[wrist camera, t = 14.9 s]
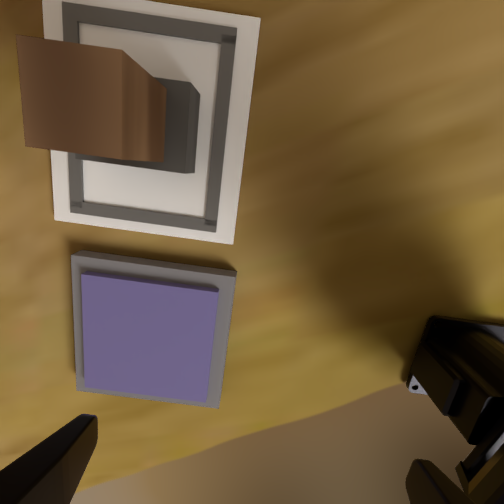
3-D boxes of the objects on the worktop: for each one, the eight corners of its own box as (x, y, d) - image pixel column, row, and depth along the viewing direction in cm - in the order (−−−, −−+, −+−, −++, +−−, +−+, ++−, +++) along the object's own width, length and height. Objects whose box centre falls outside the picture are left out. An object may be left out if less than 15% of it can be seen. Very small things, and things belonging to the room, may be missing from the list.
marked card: (260, 21, 16) (260, 16, 16) (233, 243, 20) (232, 245, 19) (46, -12, 16) (38, -18, 15) (58, 219, 20) (52, 220, 19)
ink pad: (237, 271, 20) (234, 280, 19) (220, 396, 23) (217, 414, 22) (81, 250, 20) (64, 257, 18) (85, 379, 23) (71, 396, 21)
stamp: (200, 94, 17) (157, 39, 10) (194, 173, 18) (152, 176, 11) (98, 80, 17) (-22, 13, 10) (99, 160, 18) (-6, 154, 11)
